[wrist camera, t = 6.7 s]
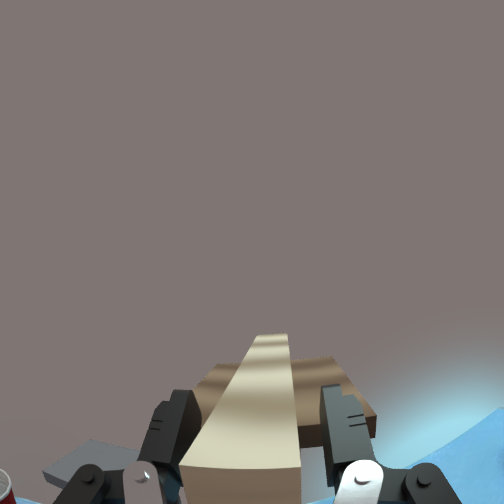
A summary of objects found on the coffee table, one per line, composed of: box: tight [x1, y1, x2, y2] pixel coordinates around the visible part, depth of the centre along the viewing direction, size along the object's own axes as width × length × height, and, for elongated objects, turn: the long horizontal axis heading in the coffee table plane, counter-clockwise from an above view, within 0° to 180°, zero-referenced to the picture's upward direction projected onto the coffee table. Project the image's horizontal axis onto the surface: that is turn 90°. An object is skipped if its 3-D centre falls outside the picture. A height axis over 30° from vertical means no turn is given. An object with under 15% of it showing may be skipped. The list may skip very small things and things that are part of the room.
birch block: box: [179, 333, 301, 504], centre depth 17 cm, size 24×3×3 cm, turn 174°
